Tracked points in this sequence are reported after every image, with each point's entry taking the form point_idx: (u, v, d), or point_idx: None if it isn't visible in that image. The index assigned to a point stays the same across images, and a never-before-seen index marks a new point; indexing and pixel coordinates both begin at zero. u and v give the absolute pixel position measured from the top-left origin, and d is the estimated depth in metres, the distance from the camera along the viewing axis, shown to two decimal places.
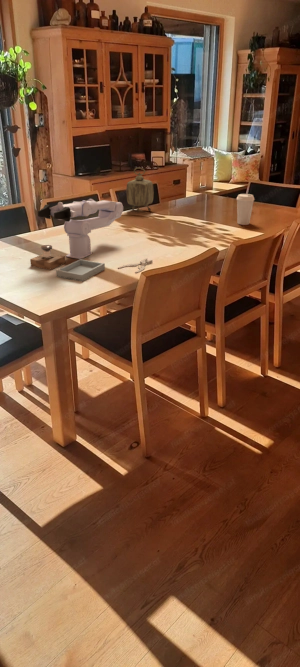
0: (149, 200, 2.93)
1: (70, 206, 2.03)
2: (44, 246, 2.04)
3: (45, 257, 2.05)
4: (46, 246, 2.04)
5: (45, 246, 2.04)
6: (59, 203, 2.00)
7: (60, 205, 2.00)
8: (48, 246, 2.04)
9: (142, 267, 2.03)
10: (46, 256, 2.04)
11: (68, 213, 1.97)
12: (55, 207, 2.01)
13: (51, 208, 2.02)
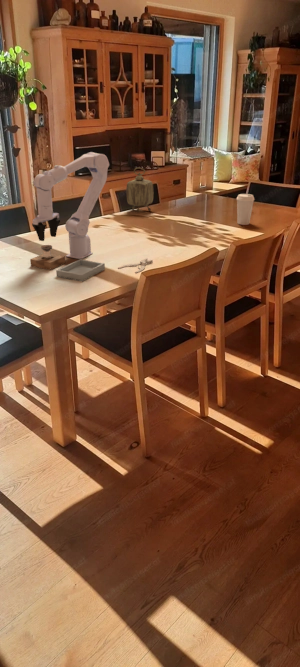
0: (149, 200, 2.93)
1: (38, 206, 2.01)
2: (44, 246, 2.04)
3: (45, 257, 2.05)
4: (46, 246, 2.04)
5: (45, 246, 2.04)
6: None
7: None
8: (48, 246, 2.04)
9: (142, 267, 2.03)
10: (46, 256, 2.04)
11: (36, 225, 2.00)
12: None
13: None
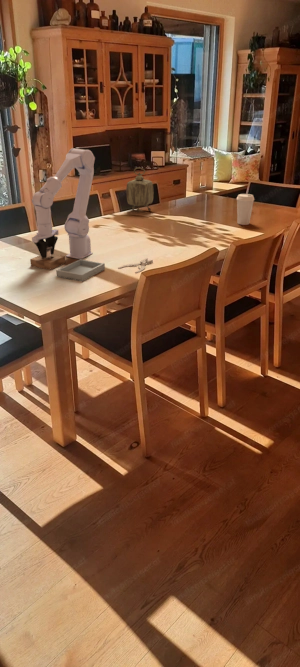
0: (149, 200, 2.93)
1: (37, 224, 1.99)
2: None
3: None
4: None
5: None
6: None
7: None
8: (48, 246, 2.04)
9: (142, 267, 2.03)
10: (46, 256, 2.04)
11: (38, 242, 2.00)
12: None
13: None
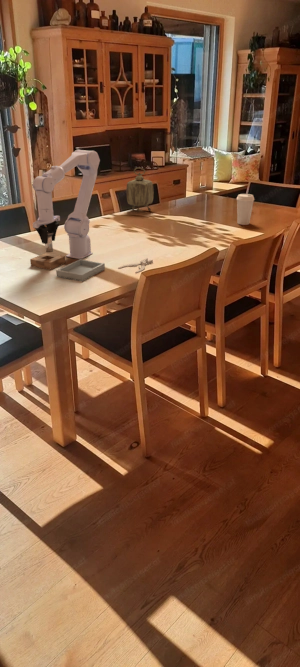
0: (149, 200, 2.93)
1: (38, 209, 1.96)
2: None
3: None
4: None
5: None
6: None
7: None
8: (49, 232, 2.01)
9: (142, 267, 2.04)
10: (47, 242, 2.01)
11: (39, 228, 1.96)
12: None
13: None
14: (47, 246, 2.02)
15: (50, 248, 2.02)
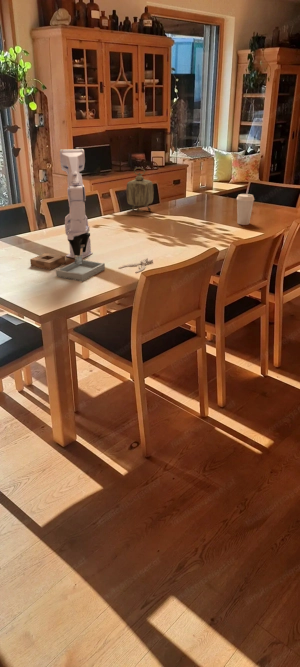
0: (149, 200, 2.93)
1: (70, 220, 1.88)
2: None
3: None
4: None
5: None
6: None
7: None
8: (81, 244, 1.93)
9: (142, 267, 2.04)
10: None
11: (72, 239, 1.88)
12: None
13: None
14: (77, 258, 1.94)
15: (80, 260, 1.95)
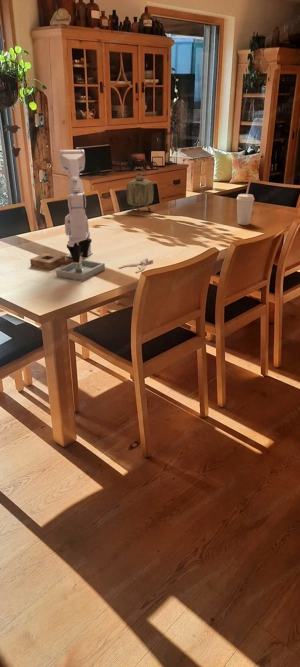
0: (149, 200, 2.93)
1: (71, 227, 1.89)
2: None
3: (76, 263, 1.96)
4: None
5: None
6: None
7: None
8: None
9: (143, 267, 2.04)
10: None
11: (72, 247, 1.89)
12: None
13: None
14: (77, 266, 1.96)
15: (80, 268, 1.97)
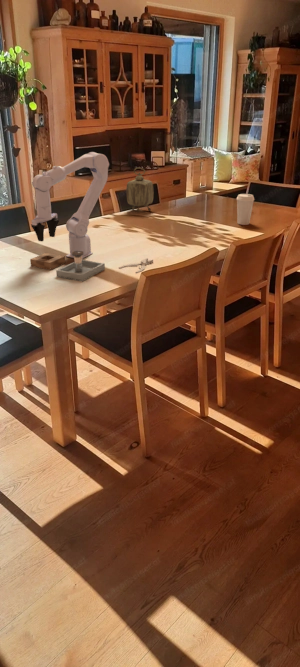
0: (149, 200, 2.93)
1: None
2: (75, 252, 1.95)
3: (76, 263, 1.96)
4: (77, 252, 1.95)
5: (76, 251, 1.95)
6: None
7: None
8: (79, 252, 1.95)
9: (143, 267, 2.04)
10: (77, 262, 1.95)
11: None
12: None
13: None
14: (77, 266, 1.96)
15: (80, 268, 1.97)
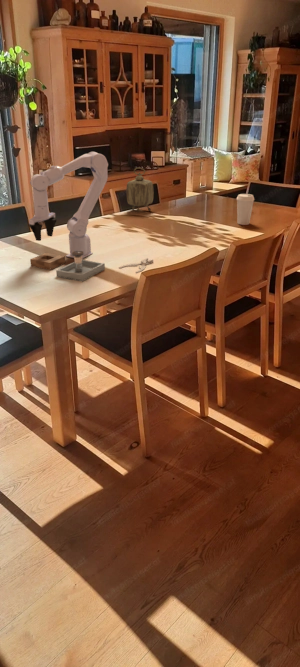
0: (149, 200, 2.93)
1: (34, 207, 2.03)
2: (75, 252, 1.95)
3: (76, 263, 1.96)
4: (77, 252, 1.95)
5: (76, 251, 1.95)
6: None
7: None
8: (79, 252, 1.95)
9: (143, 267, 2.04)
10: (77, 262, 1.95)
11: (33, 225, 2.02)
12: None
13: None
14: (77, 266, 1.96)
15: (80, 268, 1.97)
